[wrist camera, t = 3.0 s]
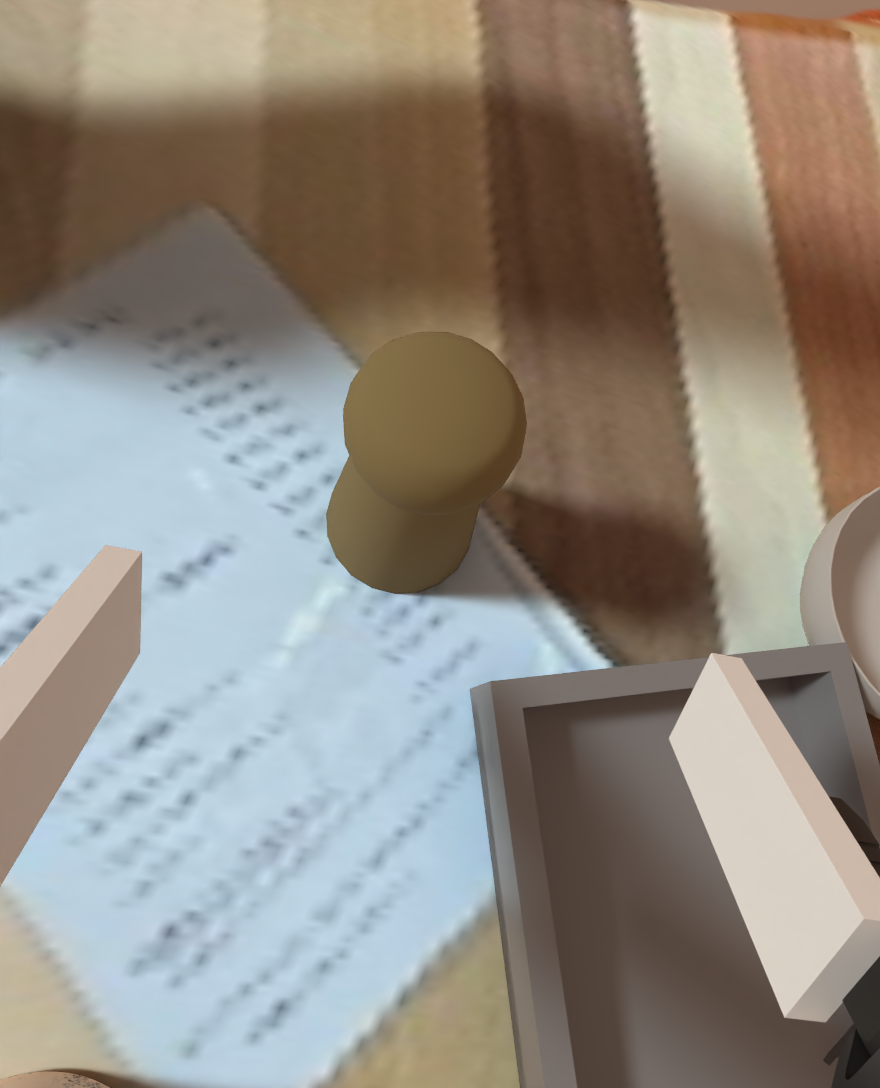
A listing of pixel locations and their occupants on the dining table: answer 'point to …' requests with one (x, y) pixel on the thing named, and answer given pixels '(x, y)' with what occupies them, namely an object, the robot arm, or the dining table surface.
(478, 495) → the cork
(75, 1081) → the teacup with lid
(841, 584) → the saucepan
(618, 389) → the dining table surface
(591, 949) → the tray
